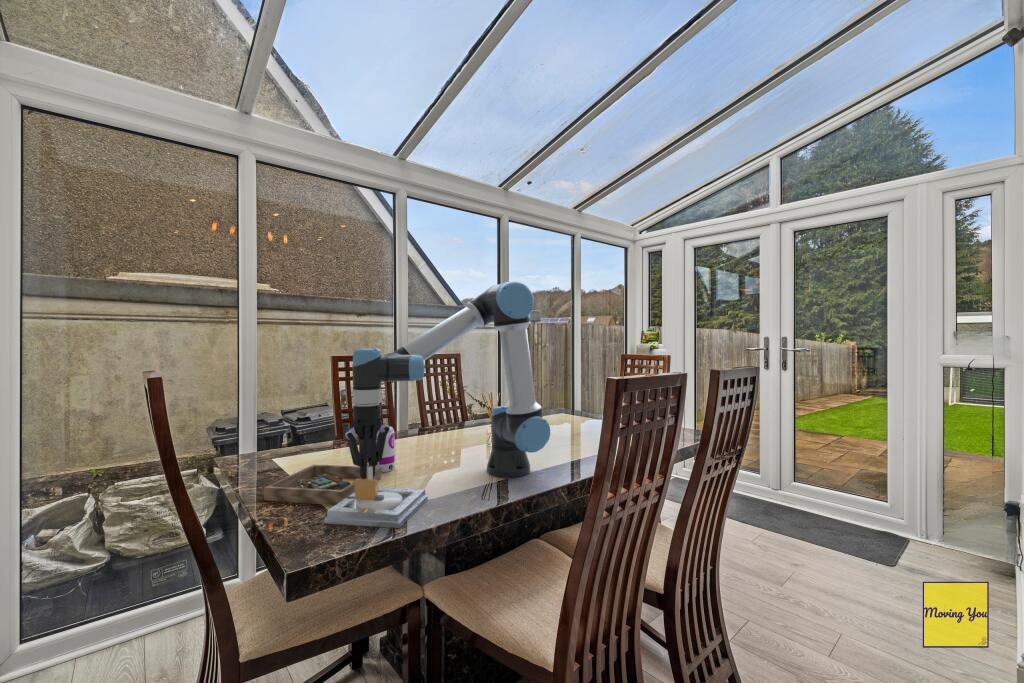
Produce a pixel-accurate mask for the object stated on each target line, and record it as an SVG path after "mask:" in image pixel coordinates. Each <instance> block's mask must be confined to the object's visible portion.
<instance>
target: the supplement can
mask: <svg viewBox="0 0 1024 683" xmlns="http://www.w3.org/2000/svg"><path fill="white" fill-rule="evenodd" d="M386 426H387V427H389V428H390V429H389V431H388V433H387V435H386V441H385V446H384V451H383V456H382V460H381V461H380V462H377V463H378V464H377V465H376V466H375V467H382V473H388V472H392V471H393V470H394V469H395V466H396V463H395V461H396V460H395V459H396V457H395V456H396V454H395V450H396V448H395V430H394V428H393V426H388V425H386ZM378 434H379V431H378V433H377V438H378ZM376 443H377V440H376Z"/></svg>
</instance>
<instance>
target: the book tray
mask: <svg viewBox="0 0 1024 683" xmlns="http://www.w3.org/2000/svg"><path fill="white" fill-rule="evenodd" d="M323 474H327V475H330V476H332V477H335V476H336V477H339V478H341V479H355V480H356V479H362V478H361V477H360V466H356V465H338V464H337V465H334V464H315V463H314V464H312V465H310V466H307V467H305V468H303V469H301V470H299V471H297V472H295V473H292V474H291V475H287V476H286V477H284V478H282V479H278V481H276V482H274V483H270V484H269V485H266V486H264V487H263V501H269V502H283V503H285V502H286V503H299V504H313V505H314V504H316V505H326V506H335V505H336V504H338V503H339V502H341V501H342V500H344V499H345V498H347V497H348V496H350V495H351V494H353V493H354V492H355V481H354V482H352V483H350V485H348V486H347V487H345V488H343V489H342V490H329V489H310V488H303V487H297V486H300V485H299V484H297V481H299V480H304V479H311V478H315V477H318V476H320V475H323ZM382 479H383V478H382V467H375V476H373V480H377V483H378V482H379V481H381V480H382Z"/></svg>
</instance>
